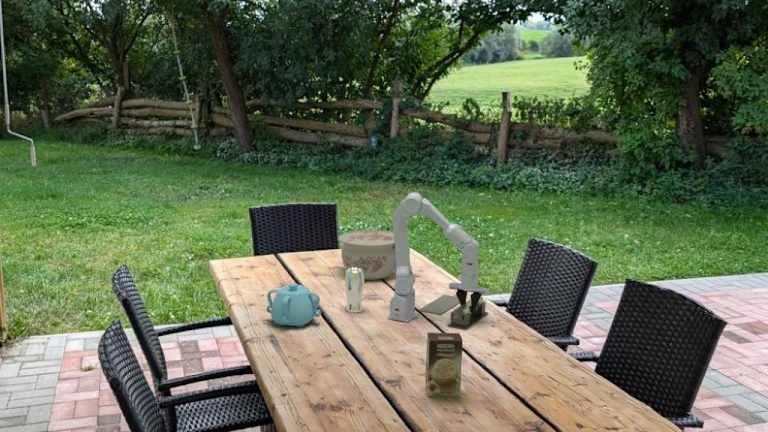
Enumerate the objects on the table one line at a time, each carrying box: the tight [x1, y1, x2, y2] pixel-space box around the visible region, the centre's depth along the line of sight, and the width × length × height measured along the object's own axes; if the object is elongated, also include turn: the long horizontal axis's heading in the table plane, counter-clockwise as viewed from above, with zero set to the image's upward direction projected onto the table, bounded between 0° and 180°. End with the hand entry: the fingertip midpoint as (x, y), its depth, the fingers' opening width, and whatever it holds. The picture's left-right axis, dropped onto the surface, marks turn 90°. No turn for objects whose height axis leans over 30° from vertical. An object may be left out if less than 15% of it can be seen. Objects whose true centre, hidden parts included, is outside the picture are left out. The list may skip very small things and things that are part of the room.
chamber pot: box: [337, 227, 411, 281], centre depth 318 cm, size 28×28×21 cm
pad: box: [418, 294, 460, 316], centre depth 282 cm, size 22×9×1 cm, turn 150°
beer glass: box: [344, 268, 365, 314], centre depth 274 cm, size 7×7×15 cm
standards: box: [446, 301, 489, 331], centre depth 265 cm, size 20×7×5 cm, turn 150°
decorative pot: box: [265, 283, 322, 328], centre depth 261 cm, size 16×16×14 cm
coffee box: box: [424, 332, 464, 398], centre depth 205 cm, size 9×6×16 cm
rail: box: [453, 296, 484, 320], centre depth 265 cm, size 18×3×3 cm, turn 150°
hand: (468, 311), depth 265 cm, fingers closed on rail, 3 cm apart
